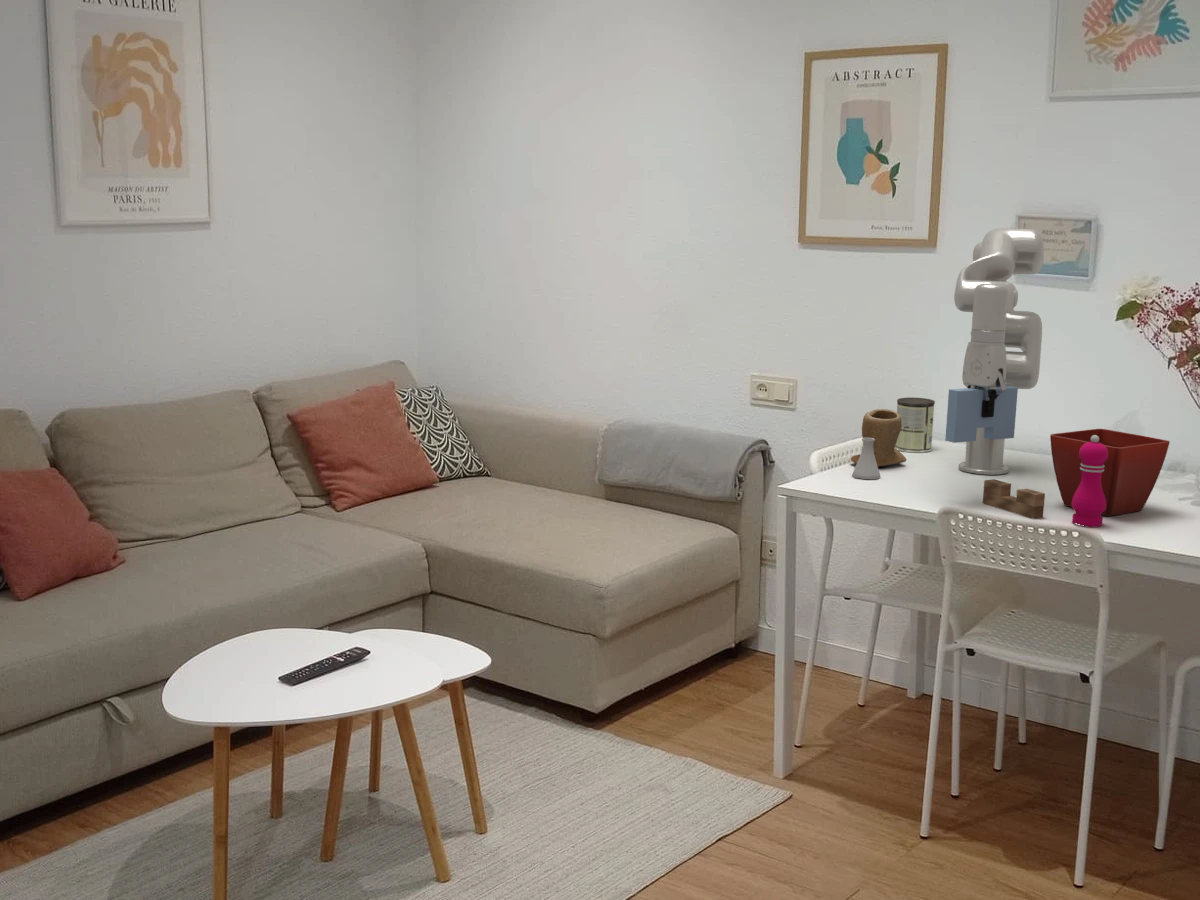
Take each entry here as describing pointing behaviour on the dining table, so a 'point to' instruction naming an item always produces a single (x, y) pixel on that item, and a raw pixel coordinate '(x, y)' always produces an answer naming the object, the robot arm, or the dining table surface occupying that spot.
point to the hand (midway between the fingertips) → (981, 415)
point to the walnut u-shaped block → (1013, 499)
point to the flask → (867, 462)
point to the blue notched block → (968, 415)
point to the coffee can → (915, 424)
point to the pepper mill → (1090, 485)
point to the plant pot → (1111, 467)
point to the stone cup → (883, 436)
